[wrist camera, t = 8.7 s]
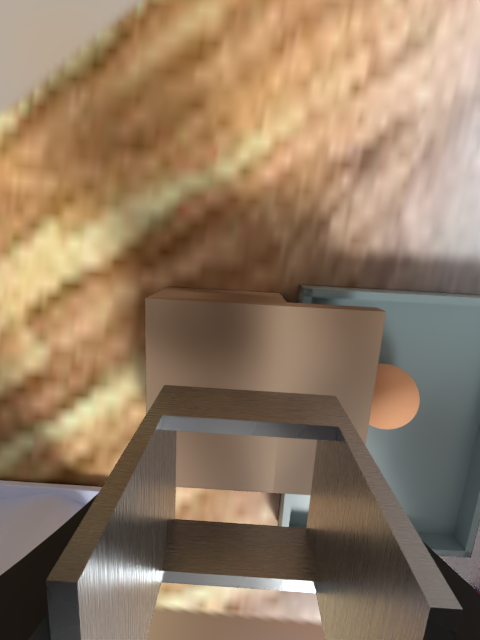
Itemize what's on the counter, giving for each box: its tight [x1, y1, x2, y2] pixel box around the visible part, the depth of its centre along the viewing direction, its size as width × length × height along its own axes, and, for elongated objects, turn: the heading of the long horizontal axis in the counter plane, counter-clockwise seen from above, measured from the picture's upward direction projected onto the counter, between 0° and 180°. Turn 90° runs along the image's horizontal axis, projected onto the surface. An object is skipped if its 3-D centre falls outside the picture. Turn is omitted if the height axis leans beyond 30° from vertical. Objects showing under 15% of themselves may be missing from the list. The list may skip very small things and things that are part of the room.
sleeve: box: [46, 385, 463, 640], centre depth 8 cm, size 5×5×6 cm
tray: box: [278, 285, 480, 557], centre depth 18 cm, size 11×15×2 cm
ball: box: [369, 364, 420, 430], centre depth 16 cm, size 3×3×3 cm
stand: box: [145, 287, 386, 495], centre depth 17 cm, size 10×9×4 cm
